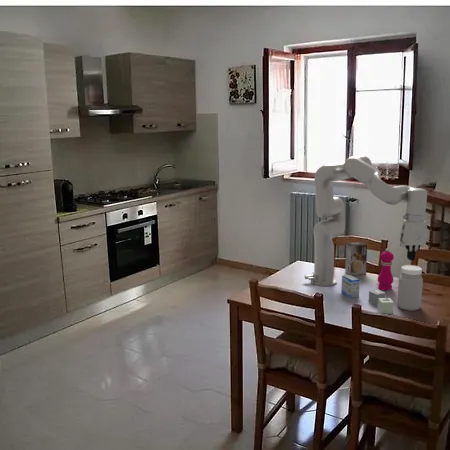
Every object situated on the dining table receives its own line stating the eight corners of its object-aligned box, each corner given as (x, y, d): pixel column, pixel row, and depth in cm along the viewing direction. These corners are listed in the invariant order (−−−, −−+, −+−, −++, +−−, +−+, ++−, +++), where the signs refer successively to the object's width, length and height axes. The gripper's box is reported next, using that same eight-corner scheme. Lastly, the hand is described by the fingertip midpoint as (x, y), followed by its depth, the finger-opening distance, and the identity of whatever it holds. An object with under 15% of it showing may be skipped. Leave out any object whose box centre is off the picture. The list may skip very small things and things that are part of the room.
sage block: (381, 313, 211) (381, 302, 210) (377, 308, 216) (378, 297, 215) (392, 313, 211) (393, 301, 210) (389, 308, 216) (389, 297, 215)
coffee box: (360, 270, 268) (362, 241, 265) (366, 274, 262) (367, 244, 259) (344, 271, 266) (346, 242, 263) (350, 275, 260) (351, 245, 257)
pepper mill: (393, 291, 237) (396, 250, 232) (378, 290, 238) (380, 250, 234) (392, 286, 243) (394, 246, 239) (376, 285, 245) (378, 246, 240)
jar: (425, 309, 214) (428, 269, 210) (406, 312, 212) (409, 272, 208) (411, 301, 223) (414, 263, 219) (392, 304, 221) (394, 265, 217)
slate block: (376, 305, 220) (376, 294, 219) (368, 301, 225) (369, 290, 224) (385, 303, 222) (385, 292, 221) (377, 299, 227) (378, 289, 226)
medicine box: (340, 292, 236) (341, 275, 234) (348, 291, 237) (349, 274, 235) (351, 298, 228) (352, 280, 227) (359, 297, 230) (360, 279, 228)
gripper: (402, 220, 204) (398, 263, 208) (436, 219, 206) (431, 261, 211) (394, 216, 211) (390, 257, 216) (426, 215, 214) (422, 256, 218)
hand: (410, 259), depth 213 cm, fingers closed
